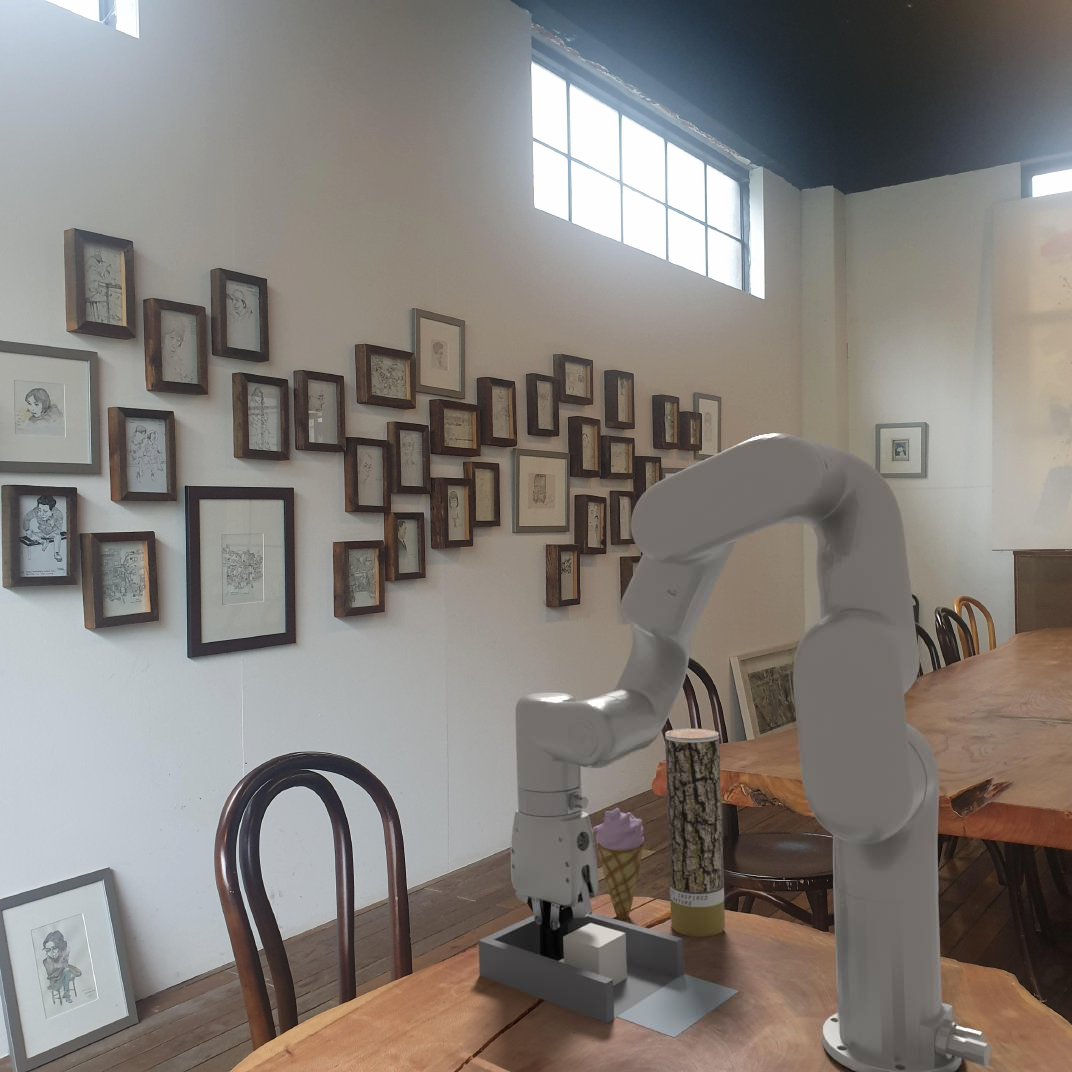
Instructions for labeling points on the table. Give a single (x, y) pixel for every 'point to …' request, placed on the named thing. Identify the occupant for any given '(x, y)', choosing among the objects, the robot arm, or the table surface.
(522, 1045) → the table surface
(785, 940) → the table surface
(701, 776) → the paper tube
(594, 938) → the cream block
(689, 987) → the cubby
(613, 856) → the ice cream cone
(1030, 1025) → the table surface
